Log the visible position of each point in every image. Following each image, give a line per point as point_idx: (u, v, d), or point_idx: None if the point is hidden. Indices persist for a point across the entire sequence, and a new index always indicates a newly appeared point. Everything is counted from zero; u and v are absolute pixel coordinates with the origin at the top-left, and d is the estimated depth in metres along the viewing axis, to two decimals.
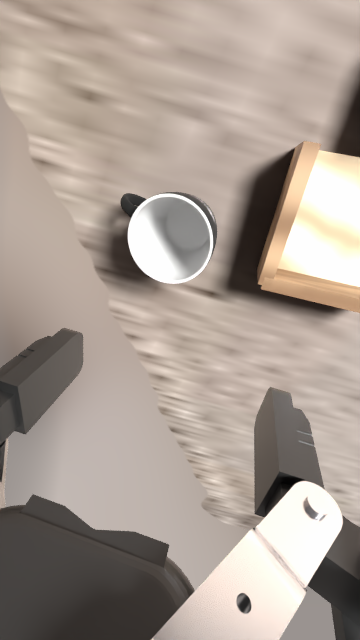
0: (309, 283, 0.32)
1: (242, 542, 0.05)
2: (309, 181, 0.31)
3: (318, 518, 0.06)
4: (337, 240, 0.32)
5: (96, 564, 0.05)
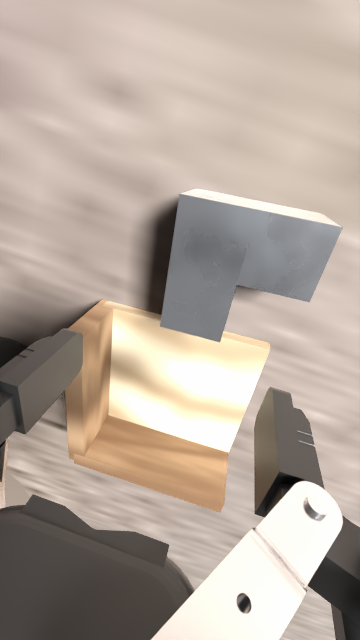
0: (133, 455, 0.26)
1: (242, 542, 0.05)
2: (122, 340, 0.24)
3: (318, 518, 0.06)
4: (170, 400, 0.26)
5: (96, 564, 0.05)
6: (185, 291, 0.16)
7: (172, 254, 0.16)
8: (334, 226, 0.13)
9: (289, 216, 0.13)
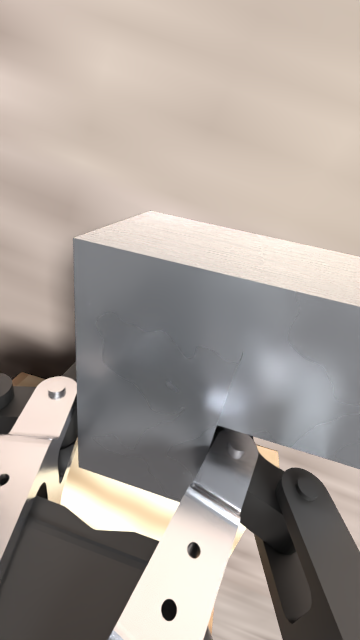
0: None
1: (183, 500, 0.06)
2: None
3: (236, 454, 0.07)
4: (130, 511, 0.18)
5: (96, 564, 0.05)
6: (115, 422, 0.08)
7: (79, 358, 0.07)
8: None
9: (346, 303, 0.05)
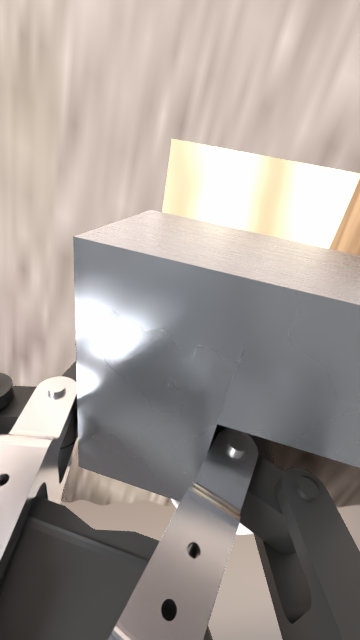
0: None
1: (183, 500, 0.06)
2: None
3: (236, 454, 0.07)
4: None
5: (96, 564, 0.05)
6: (115, 421, 0.08)
7: (79, 358, 0.07)
8: None
9: (347, 301, 0.05)
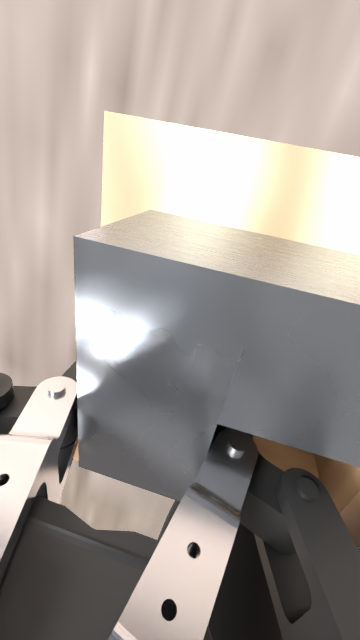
0: None
1: (183, 500, 0.06)
2: None
3: (236, 454, 0.07)
4: None
5: (96, 564, 0.05)
6: (115, 421, 0.08)
7: (79, 357, 0.07)
8: None
9: (347, 301, 0.05)
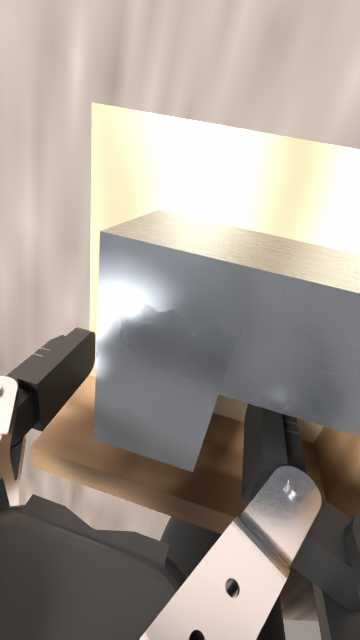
0: None
1: (228, 530, 0.05)
2: None
3: (298, 499, 0.07)
4: None
5: (96, 564, 0.05)
6: (128, 395, 0.09)
7: (100, 337, 0.08)
8: None
9: (326, 285, 0.06)
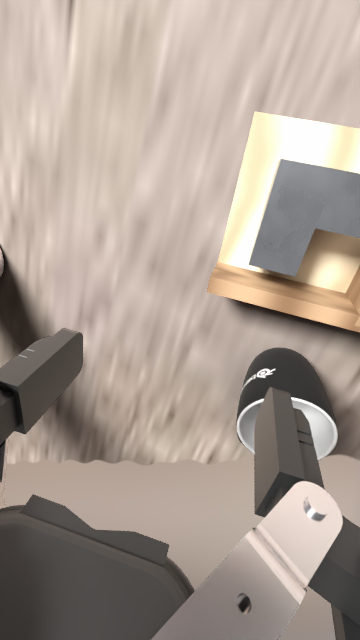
0: None
1: (242, 542, 0.05)
2: (248, 259, 0.29)
3: (318, 518, 0.06)
4: None
5: (96, 564, 0.05)
6: (273, 234, 0.22)
7: (268, 205, 0.21)
8: None
9: None
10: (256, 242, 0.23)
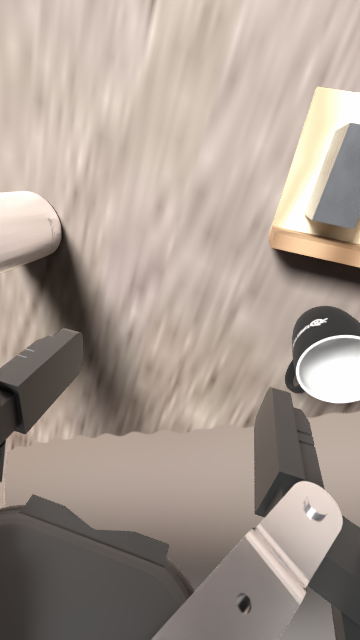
0: None
1: (242, 542, 0.05)
2: (300, 222, 0.32)
3: (318, 518, 0.06)
4: None
5: (96, 564, 0.05)
6: (337, 191, 0.26)
7: (334, 164, 0.25)
8: None
9: None
10: (321, 199, 0.26)
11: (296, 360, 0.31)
